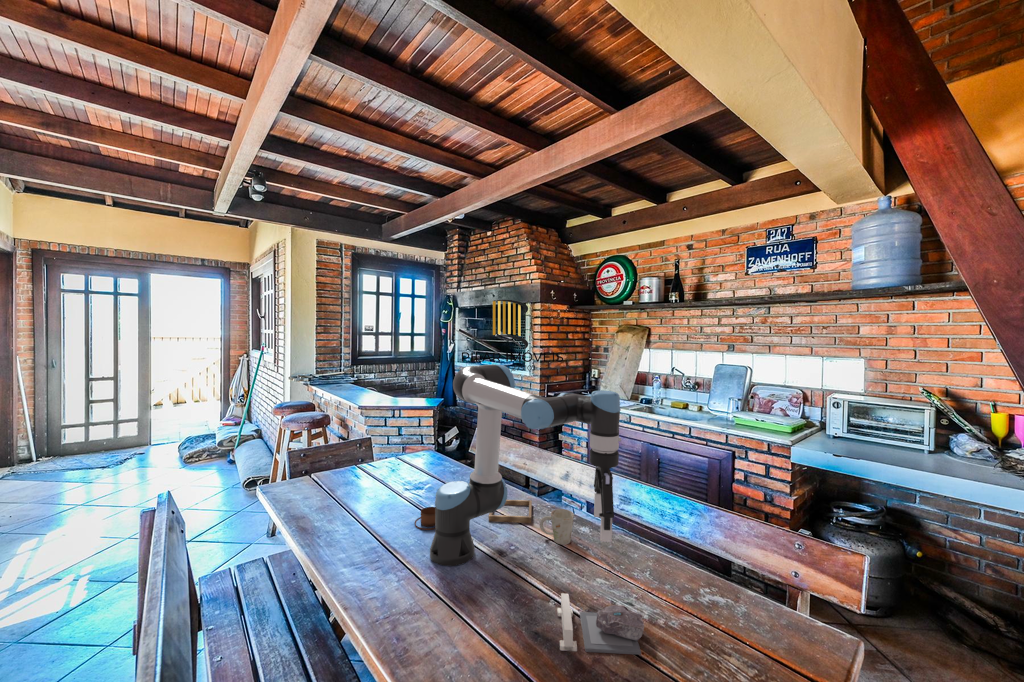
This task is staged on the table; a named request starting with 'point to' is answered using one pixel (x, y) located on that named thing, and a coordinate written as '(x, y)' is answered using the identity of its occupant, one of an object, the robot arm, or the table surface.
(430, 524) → the cup and saucer
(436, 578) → the table surface
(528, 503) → the wooden frame
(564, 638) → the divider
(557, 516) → the mug
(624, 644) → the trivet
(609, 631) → the rock
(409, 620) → the table surface
